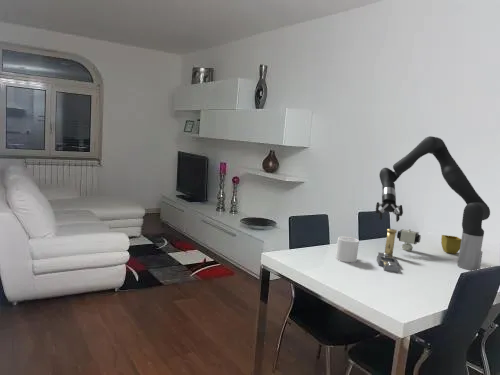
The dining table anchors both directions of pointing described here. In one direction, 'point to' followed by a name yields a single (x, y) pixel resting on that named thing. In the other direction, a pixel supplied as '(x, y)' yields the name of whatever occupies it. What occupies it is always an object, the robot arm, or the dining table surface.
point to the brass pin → (390, 241)
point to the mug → (347, 249)
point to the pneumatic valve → (408, 238)
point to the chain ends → (388, 262)
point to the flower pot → (450, 244)
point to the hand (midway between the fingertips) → (389, 219)
